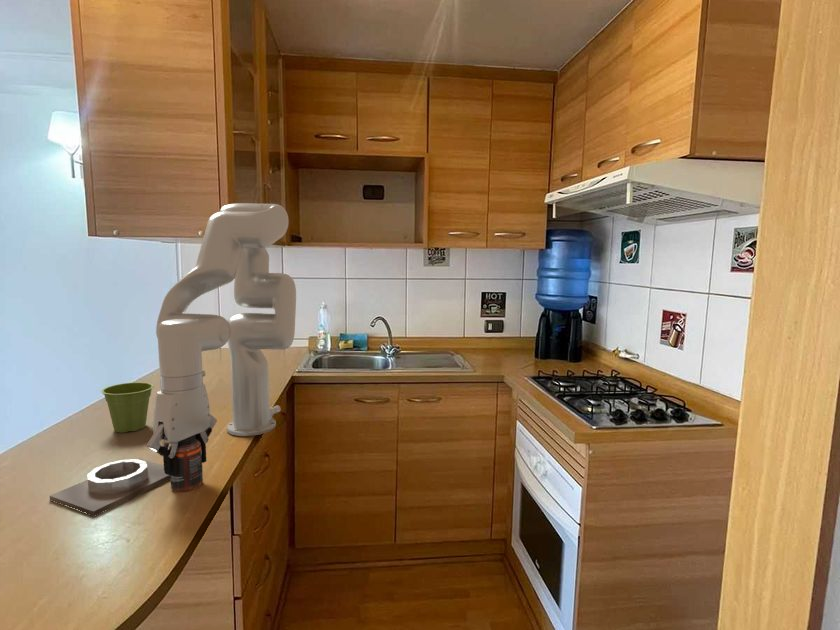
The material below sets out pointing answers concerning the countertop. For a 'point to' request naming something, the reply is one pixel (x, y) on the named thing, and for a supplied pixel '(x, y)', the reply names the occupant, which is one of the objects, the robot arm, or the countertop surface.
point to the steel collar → (113, 486)
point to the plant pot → (128, 405)
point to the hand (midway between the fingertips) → (186, 466)
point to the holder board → (96, 504)
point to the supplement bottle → (188, 465)
